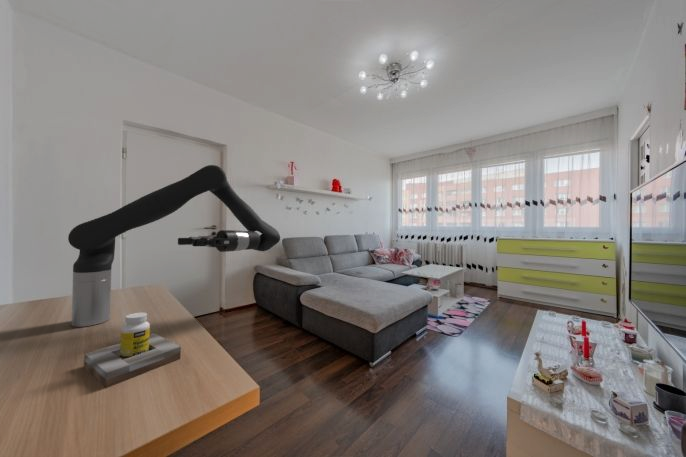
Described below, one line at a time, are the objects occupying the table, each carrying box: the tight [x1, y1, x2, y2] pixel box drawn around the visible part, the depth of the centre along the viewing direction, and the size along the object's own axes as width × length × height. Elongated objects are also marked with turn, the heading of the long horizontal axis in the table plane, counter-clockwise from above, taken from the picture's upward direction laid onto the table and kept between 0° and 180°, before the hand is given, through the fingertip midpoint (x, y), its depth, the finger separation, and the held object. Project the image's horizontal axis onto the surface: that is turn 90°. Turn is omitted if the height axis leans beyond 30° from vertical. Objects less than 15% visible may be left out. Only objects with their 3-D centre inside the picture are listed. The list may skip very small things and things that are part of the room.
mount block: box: [83, 333, 182, 388], centre depth 61 cm, size 14×14×3 cm
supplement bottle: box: [119, 312, 151, 360], centre depth 61 cm, size 5×5×10 cm
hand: (185, 242), depth 78 cm, fingers open, 8 cm apart
